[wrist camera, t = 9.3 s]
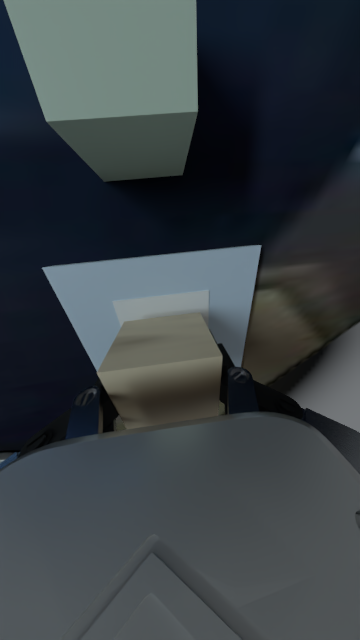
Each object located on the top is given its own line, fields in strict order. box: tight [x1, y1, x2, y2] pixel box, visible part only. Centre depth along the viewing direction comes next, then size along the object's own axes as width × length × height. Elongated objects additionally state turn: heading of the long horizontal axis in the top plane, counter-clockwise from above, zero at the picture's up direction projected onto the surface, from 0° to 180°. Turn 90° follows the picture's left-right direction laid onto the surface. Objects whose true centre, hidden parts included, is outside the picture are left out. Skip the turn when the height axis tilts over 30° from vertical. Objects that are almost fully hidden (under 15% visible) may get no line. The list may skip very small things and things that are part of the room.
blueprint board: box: [42, 245, 261, 371], centre depth 14 cm, size 14×16×1 cm
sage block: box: [4, 0, 198, 182], centre depth 6 cm, size 5×5×5 cm
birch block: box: [97, 312, 223, 429], centre depth 10 cm, size 6×6×5 cm
